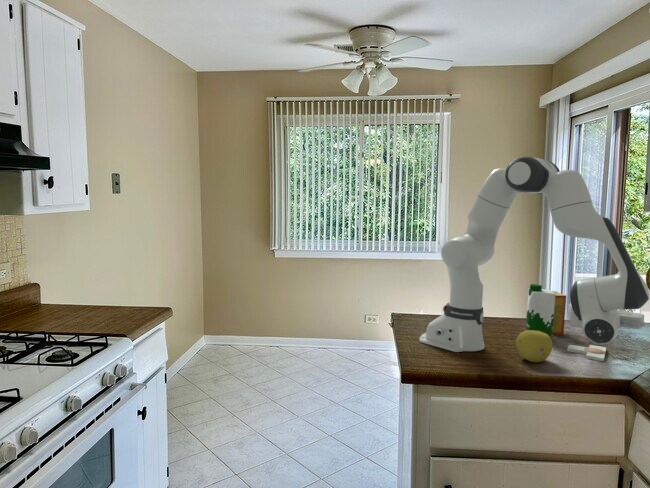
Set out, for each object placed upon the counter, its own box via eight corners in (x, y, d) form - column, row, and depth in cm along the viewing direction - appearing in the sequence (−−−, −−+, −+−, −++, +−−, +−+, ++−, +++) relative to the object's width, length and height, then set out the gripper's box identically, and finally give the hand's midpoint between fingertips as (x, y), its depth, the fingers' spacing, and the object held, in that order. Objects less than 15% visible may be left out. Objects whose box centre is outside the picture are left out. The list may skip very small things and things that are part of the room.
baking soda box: (563, 335, 175) (566, 294, 174) (546, 335, 175) (549, 294, 174) (550, 328, 185) (553, 289, 183) (534, 328, 185) (537, 289, 183)
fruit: (558, 364, 143) (561, 333, 142) (529, 367, 140) (532, 335, 139) (535, 353, 153) (537, 324, 152) (508, 355, 150) (510, 326, 149)
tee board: (565, 354, 153) (565, 351, 153) (570, 344, 164) (570, 341, 164) (604, 361, 146) (604, 358, 146) (606, 350, 158) (606, 347, 158)
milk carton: (523, 332, 177) (526, 282, 175) (548, 334, 175) (551, 284, 174) (528, 339, 169) (532, 286, 167) (554, 341, 167) (558, 288, 165)
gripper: (646, 315, 128) (646, 306, 140) (566, 303, 140) (571, 296, 151) (644, 336, 129) (644, 326, 140) (564, 323, 141) (570, 315, 152)
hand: (605, 311), depth 146 cm, fingers closed on sprinkles bottle, 4 cm apart
